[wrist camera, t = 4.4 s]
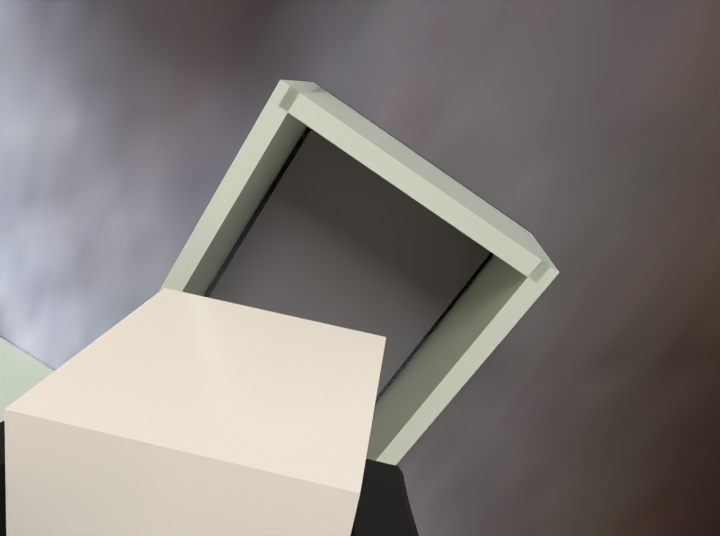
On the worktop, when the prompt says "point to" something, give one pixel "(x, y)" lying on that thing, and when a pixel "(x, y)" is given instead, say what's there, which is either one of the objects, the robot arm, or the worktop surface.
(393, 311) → the pad
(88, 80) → the worktop surface
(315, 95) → the caddy
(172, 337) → the cube
